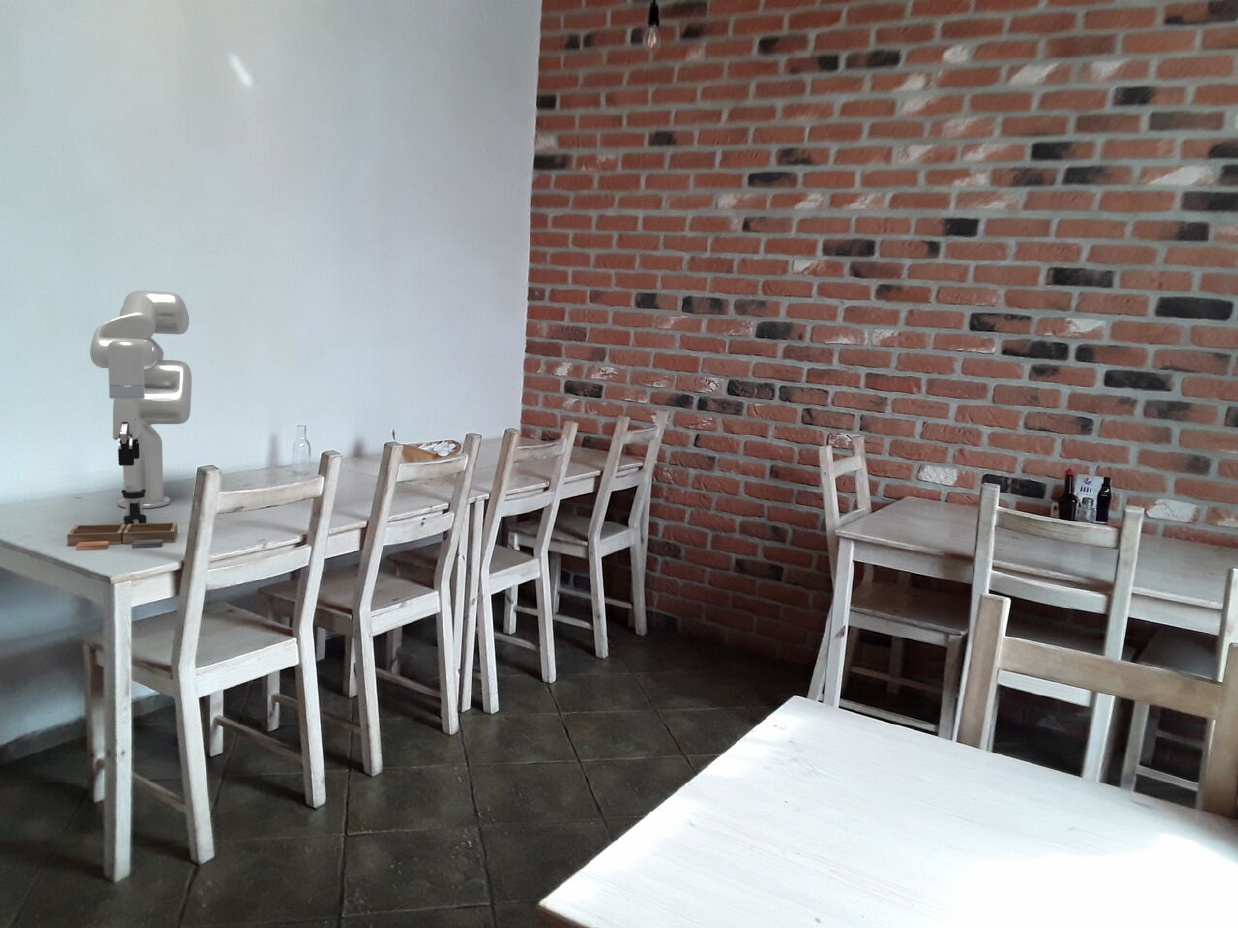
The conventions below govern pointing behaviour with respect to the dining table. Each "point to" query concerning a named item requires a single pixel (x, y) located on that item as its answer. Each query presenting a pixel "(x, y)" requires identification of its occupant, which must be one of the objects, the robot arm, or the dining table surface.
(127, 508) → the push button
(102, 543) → the terracotta tag dock
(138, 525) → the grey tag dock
